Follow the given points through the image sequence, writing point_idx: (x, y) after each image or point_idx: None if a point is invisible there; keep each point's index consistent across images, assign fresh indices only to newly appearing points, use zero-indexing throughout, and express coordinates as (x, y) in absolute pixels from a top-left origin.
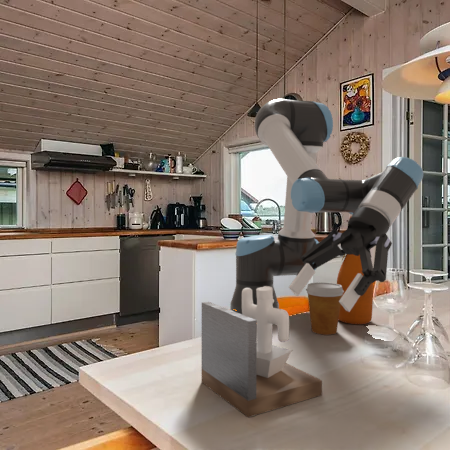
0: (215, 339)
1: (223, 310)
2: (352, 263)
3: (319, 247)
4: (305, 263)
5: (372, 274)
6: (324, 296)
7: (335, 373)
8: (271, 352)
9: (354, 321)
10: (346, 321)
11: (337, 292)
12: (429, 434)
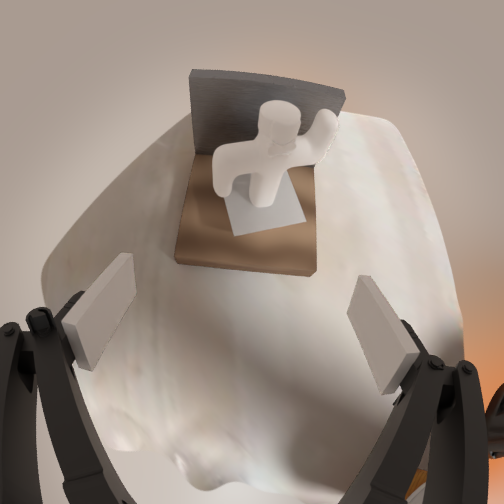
0: None
1: (272, 77)
2: None
3: (461, 447)
4: (427, 358)
5: (30, 335)
6: (410, 495)
7: (220, 351)
8: (247, 199)
9: None
10: None
11: None
12: (51, 279)
